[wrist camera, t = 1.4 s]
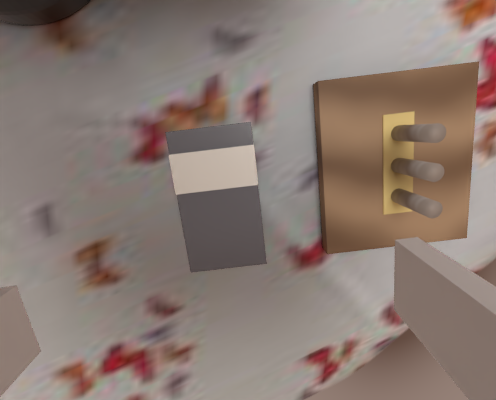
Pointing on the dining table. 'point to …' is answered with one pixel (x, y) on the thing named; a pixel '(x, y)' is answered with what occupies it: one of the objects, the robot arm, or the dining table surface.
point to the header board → (395, 156)
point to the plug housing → (218, 195)
